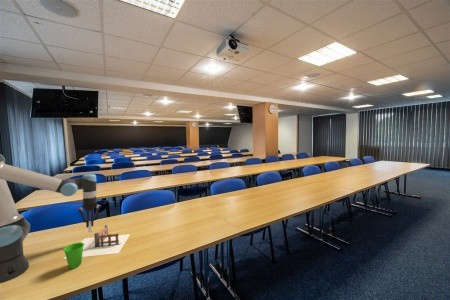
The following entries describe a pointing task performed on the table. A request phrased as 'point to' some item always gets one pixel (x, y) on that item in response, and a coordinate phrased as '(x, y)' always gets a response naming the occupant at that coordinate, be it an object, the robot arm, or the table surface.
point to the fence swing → (103, 232)
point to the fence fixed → (105, 241)
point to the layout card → (91, 250)
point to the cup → (74, 254)
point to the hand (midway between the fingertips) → (89, 231)
